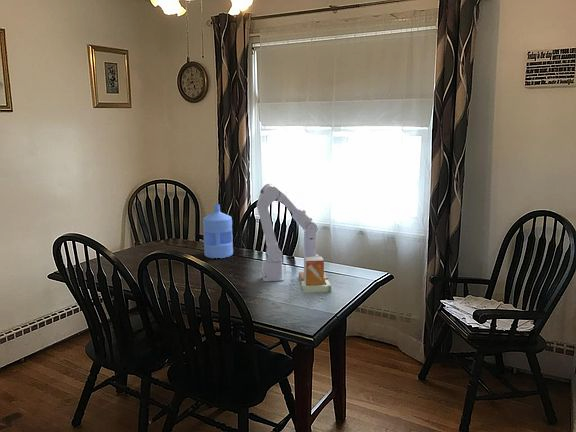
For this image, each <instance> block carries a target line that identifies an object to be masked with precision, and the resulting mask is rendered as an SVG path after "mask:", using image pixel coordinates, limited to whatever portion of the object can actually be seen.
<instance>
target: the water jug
mask: <svg viewBox="0 0 576 432" xmlns="http://www.w3.org/2000/svg"><path fill="white" fill-rule="evenodd" d="M213 206H214V207H213V210H214V211H213V212H212V213H210V214H208V215H206V216H204V217H203V219H202V226H203V244H204V248H203V249H204V251H203V253H204V256H205V257H206V258H208V259H214V258H216V260H217V258H220V259H225V258H226V257H227V258H230V257H231V256H233V254H234V247H233V245H234V242H233V240H234V239H233V219H232V218H233V217H232V216H231V215H228V214H226V213H224V212H221V207H220V206H221V205H220V204H219V203H218V204H217V203H216V204H215V203H214V204H213Z"/></svg>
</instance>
